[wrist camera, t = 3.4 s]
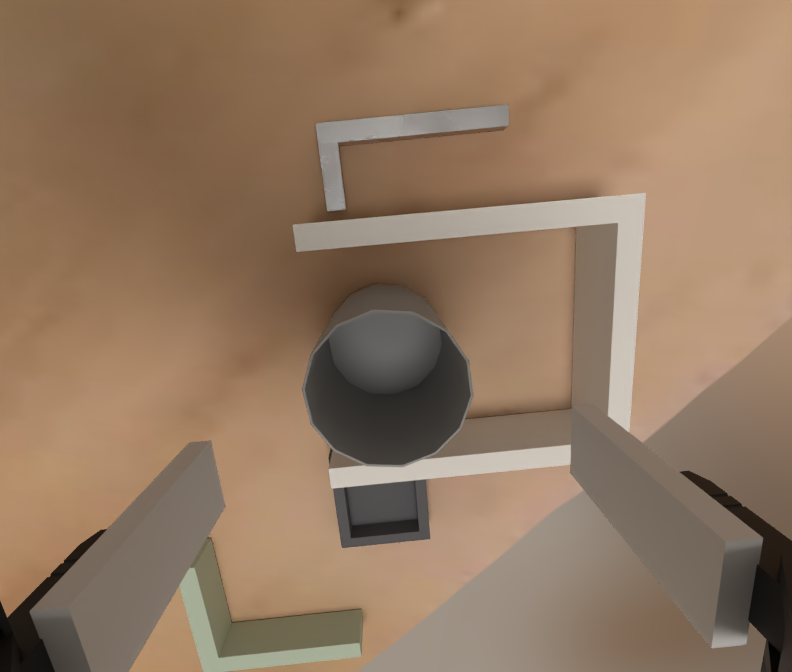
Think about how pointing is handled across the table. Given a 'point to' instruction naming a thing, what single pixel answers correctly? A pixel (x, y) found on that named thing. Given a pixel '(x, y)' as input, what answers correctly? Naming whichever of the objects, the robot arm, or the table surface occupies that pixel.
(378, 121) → the crook tool
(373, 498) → the tray
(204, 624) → the dock
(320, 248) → the frame
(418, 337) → the cup
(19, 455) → the table surface
